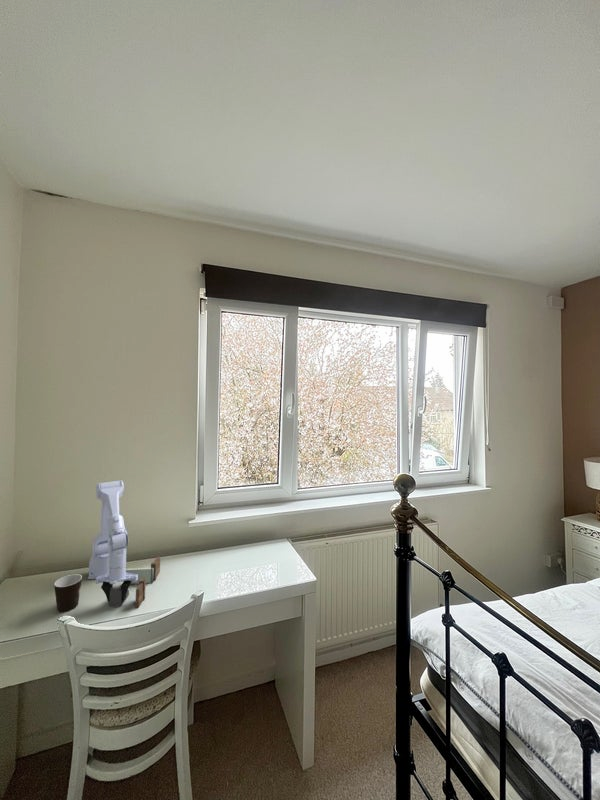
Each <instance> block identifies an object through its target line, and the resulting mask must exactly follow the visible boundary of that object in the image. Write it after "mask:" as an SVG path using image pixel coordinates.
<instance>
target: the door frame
mask: <svg viewBox="0 0 600 800" xmlns="http://www.w3.org/2000/svg"><path fill="white" fill-rule="evenodd" d="M150 568H154V576H153V582H156V580H157V577H158V576H159V574H160V572H161V556H160V555H159V556H156V558H155V559H154V561H153V562H152V561H151V563H150ZM145 582H146V580H140V581H139V583H138V586H137V588H135V609H138V608H140V607H141V604H143V601H145V599H146V583H145Z"/></svg>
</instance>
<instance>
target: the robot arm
mask: <svg viewBox="0 0 600 800" xmlns="http://www.w3.org/2000/svg"><path fill="white" fill-rule="evenodd" d="M124 491H125V487H124V481H123V480H121V479H120V480H114V481H107V482H106V481H105V482H98V483H96V485H95V499H97V500H100V501H101V514H100V515H101V516H100V517H101V518H100V533H99V534H97V535H95V536H94V537H93V540H92V547H91V549H92V554H91V557H90V559H89V563H88V577H87V579H88V580H95V584H100V583H102V585H101V586H100V588H101V590H102V591H103V593H104V595H105V597H106V600H107V603H109V595H110V590H111V589H112V587H114V585H115V584H116V583H119V582H122V583H121V584H120V587H121V591H122V601H124V600H125V599H126V594H127V591H128V590H129V589H130V586H131V585H132V584H131V582H132V581H133V582H136V581H137V580H138V574H130V573H126V569H127V548H128V547H129V540H130V539H129V535H128V531H127V529H126V527H125V521H124V516H123V515H121V514H120V500H119V499H121V498H122V496H123V494H124ZM126 600H127V599H126ZM126 600H125V601H126Z"/></svg>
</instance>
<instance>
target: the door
mask: <svg viewBox="0 0 600 800" xmlns="http://www.w3.org/2000/svg"><path fill="white" fill-rule="evenodd" d="M126 573H130V574H138V580H137V581H136V582H133V581H132V582H131V584H130V585H132V584H133V585H134V584H136V585H137V584H139V581H140V580H146V582H145V584H152V583H154V581H153V576H154V568H151V567H138V568H126Z"/></svg>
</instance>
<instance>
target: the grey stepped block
mask: <svg viewBox="0 0 600 800" xmlns="http://www.w3.org/2000/svg"><path fill="white" fill-rule="evenodd" d="M129 596H130V589H128V591H127V594H126V599H125V600H124V601H122V591H121V586H113V587H112V589H111V590H110V595H109V602H108V604H109V606H108V607H111V608H112V607H122V606H123V604H124V603H125V602H126V600H127V598H129Z"/></svg>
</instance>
